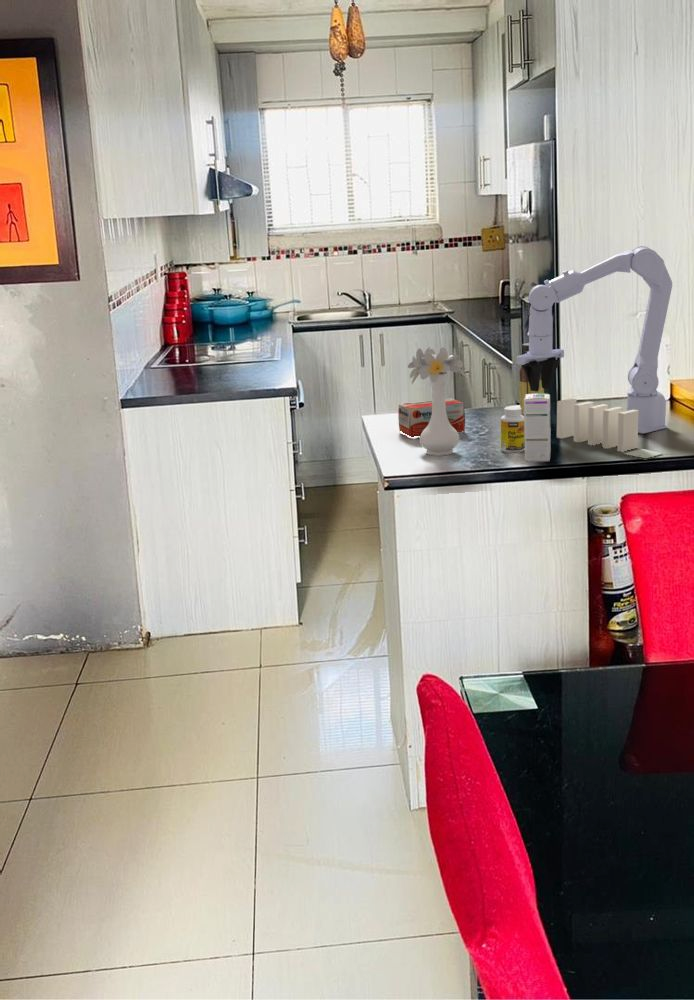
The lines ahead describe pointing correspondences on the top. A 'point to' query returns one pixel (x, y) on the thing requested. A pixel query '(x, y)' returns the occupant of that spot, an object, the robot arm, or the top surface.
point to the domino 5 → (627, 430)
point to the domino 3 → (595, 424)
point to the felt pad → (643, 453)
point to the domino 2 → (581, 421)
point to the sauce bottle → (526, 382)
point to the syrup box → (537, 427)
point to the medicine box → (428, 416)
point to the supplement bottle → (512, 430)
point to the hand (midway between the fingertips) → (540, 389)
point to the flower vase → (437, 398)
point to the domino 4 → (610, 427)
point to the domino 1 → (565, 418)
